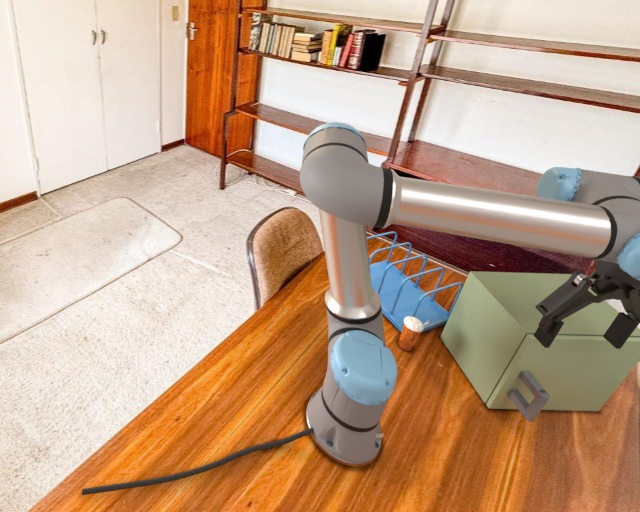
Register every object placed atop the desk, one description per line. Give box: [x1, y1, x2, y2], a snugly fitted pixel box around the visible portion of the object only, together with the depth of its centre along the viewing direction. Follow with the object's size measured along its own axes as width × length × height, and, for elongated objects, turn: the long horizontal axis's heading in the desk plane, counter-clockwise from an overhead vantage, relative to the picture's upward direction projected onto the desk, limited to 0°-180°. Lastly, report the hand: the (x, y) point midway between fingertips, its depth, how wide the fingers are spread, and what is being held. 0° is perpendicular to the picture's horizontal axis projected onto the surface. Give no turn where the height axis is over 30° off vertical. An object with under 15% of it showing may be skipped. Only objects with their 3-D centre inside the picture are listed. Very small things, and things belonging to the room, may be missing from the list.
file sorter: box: [367, 231, 464, 333], centre depth 117 cm, size 25×17×15 cm
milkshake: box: [398, 316, 429, 351], centre depth 103 cm, size 4×5×10 cm
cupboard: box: [440, 270, 640, 404], centre depth 95 cm, size 18×26×24 cm
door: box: [485, 334, 640, 423], centre depth 83 cm, size 7×26×23 cm, turn 90°
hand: (576, 342), depth 75 cm, fingers open, 13 cm apart
